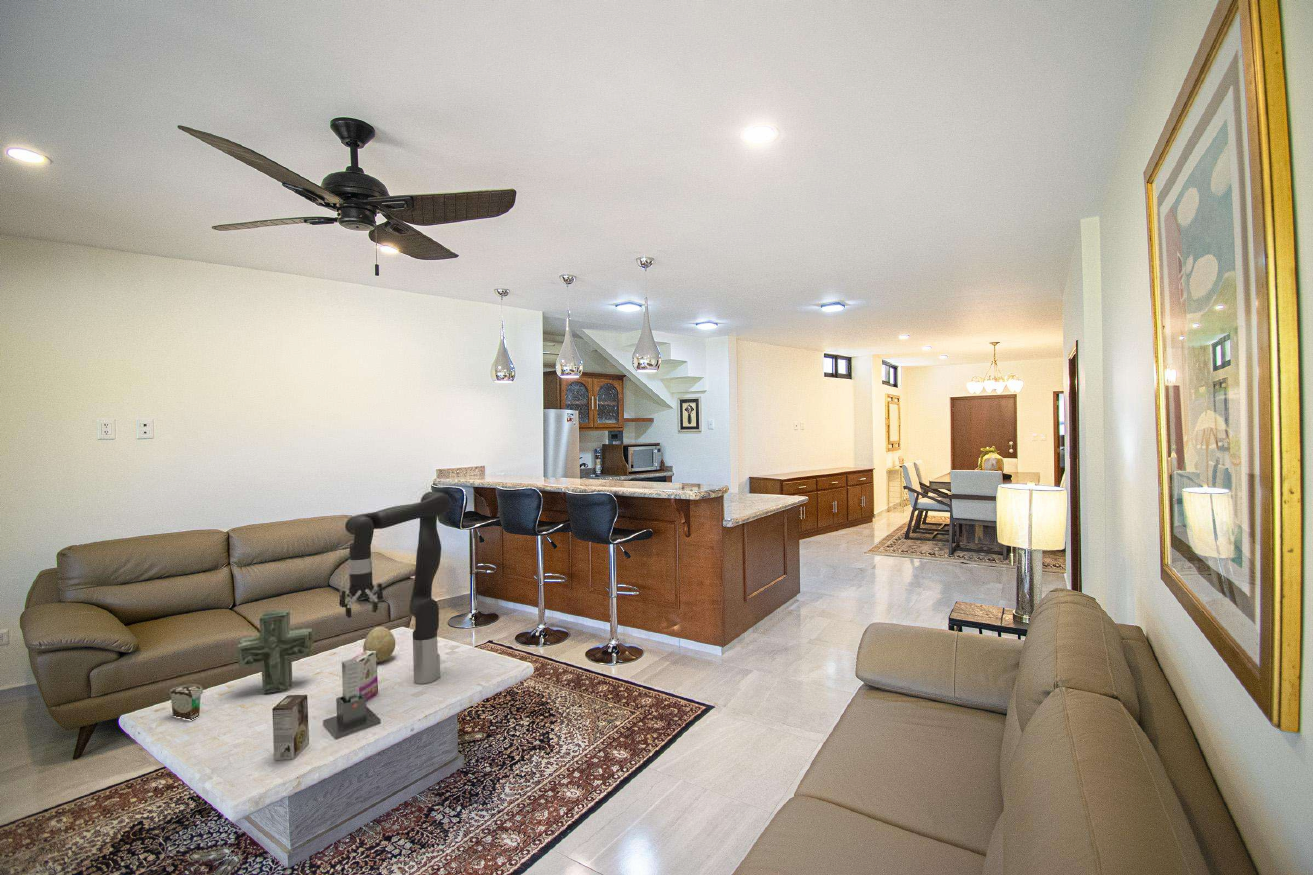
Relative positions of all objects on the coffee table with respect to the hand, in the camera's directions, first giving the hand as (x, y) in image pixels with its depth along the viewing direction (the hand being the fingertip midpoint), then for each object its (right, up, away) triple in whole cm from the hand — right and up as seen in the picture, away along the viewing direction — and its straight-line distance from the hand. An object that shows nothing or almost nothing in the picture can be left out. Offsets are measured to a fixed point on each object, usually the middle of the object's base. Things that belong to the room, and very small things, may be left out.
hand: (362, 614), depth 214 cm
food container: (-59, -35, -5) cm, 68 cm away
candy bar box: (-2, -33, +5) cm, 34 cm away
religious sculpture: (-41, -34, +16) cm, 55 cm away
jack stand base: (+3, -33, -14) cm, 36 cm away
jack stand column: (+3, -27, -14) cm, 31 cm away
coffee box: (-7, -34, -31) cm, 46 cm away
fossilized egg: (-13, -33, +41) cm, 55 cm away
